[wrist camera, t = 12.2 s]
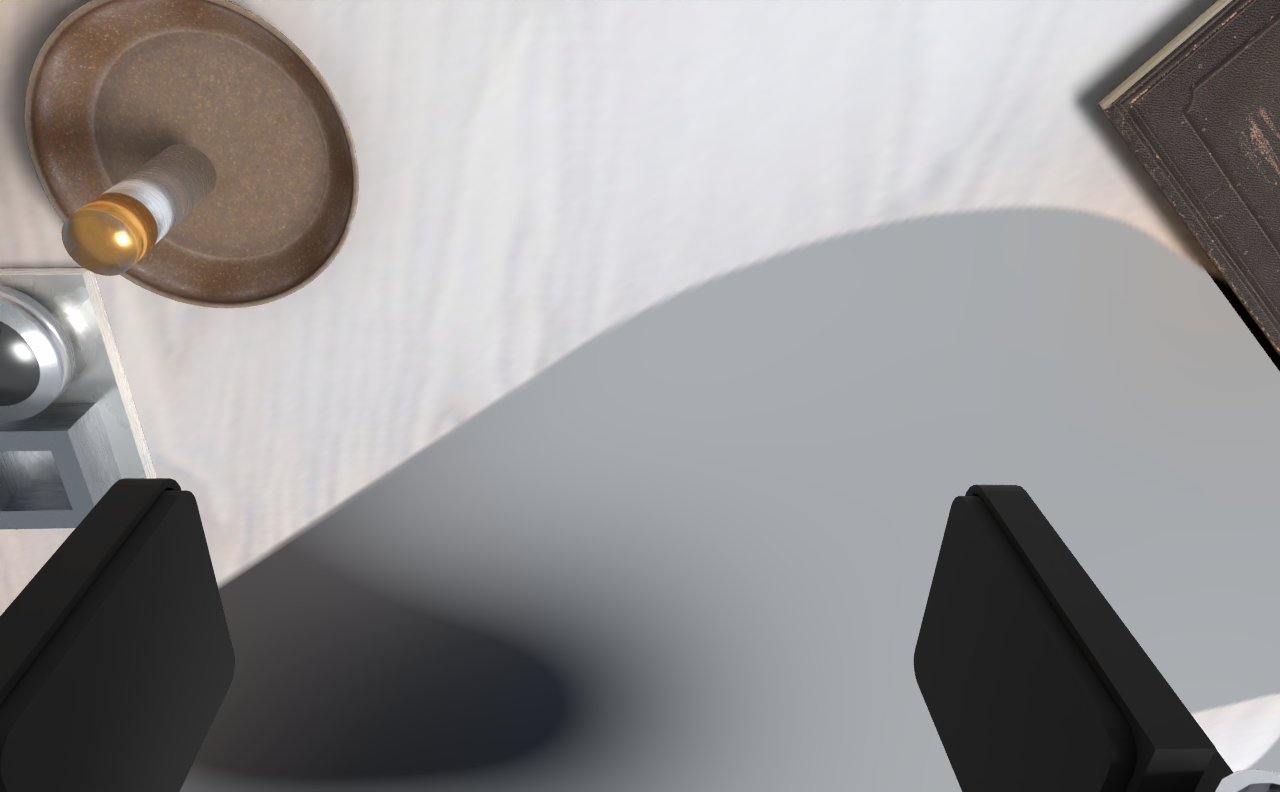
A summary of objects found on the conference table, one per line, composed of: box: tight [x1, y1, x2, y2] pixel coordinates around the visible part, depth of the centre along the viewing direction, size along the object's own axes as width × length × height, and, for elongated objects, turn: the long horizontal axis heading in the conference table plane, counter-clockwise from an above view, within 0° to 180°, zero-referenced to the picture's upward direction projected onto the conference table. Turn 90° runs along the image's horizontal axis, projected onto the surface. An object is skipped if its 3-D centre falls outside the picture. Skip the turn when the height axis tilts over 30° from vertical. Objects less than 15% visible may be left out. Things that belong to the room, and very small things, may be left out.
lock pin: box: [62, 144, 217, 276], centre depth 37 cm, size 3×3×9 cm
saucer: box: [24, 0, 359, 308], centre depth 42 cm, size 15×15×3 cm
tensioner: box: [0, 268, 157, 529], centre depth 47 cm, size 14×9×4 cm, turn 0°
